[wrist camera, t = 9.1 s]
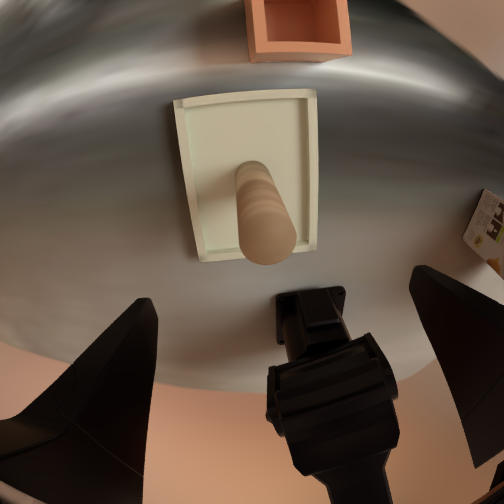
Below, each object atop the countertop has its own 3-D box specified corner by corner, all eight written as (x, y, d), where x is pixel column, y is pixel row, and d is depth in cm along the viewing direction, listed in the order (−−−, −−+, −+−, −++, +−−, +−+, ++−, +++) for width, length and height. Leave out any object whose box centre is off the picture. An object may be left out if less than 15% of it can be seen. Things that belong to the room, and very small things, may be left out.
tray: (312, 242, 23) (316, 250, 22) (200, 254, 23) (199, 262, 22) (311, 88, 17) (316, 88, 16) (176, 100, 17) (173, 100, 16)
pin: (270, 191, 20) (296, 261, 13) (236, 195, 20) (241, 267, 13) (268, 159, 19) (296, 211, 11) (233, 162, 19) (235, 216, 11)
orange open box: (323, 62, 16) (352, 55, 12) (249, 63, 16) (256, 52, 12) (317, 0, 13) (343, -23, 9) (243, -2, 13) (248, -29, 9)
